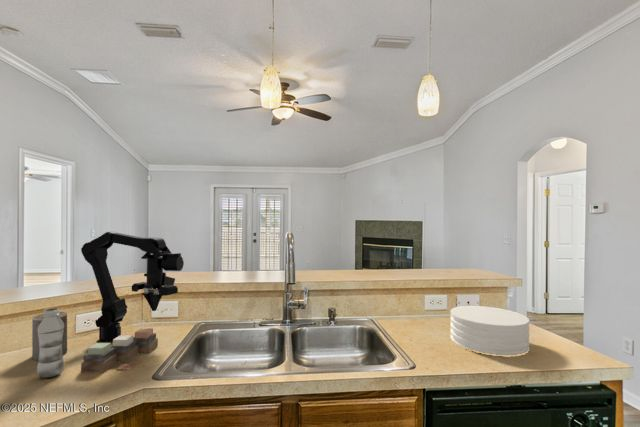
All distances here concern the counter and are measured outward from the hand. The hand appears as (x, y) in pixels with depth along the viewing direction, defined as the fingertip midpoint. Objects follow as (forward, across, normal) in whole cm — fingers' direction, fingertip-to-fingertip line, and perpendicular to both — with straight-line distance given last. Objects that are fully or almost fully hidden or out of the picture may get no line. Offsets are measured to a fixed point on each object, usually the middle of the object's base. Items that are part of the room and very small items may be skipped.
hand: (154, 310), depth 136 cm
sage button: (+8, -3, +24) cm, 25 cm away
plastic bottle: (+12, +4, +34) cm, 36 cm away
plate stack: (+12, -119, -55) cm, 131 cm away
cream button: (+7, -3, +15) cm, 18 cm away
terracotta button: (+7, -3, +7) cm, 11 cm away
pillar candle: (+12, +22, +24) cm, 35 cm away
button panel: (+12, -3, +16) cm, 20 cm away
